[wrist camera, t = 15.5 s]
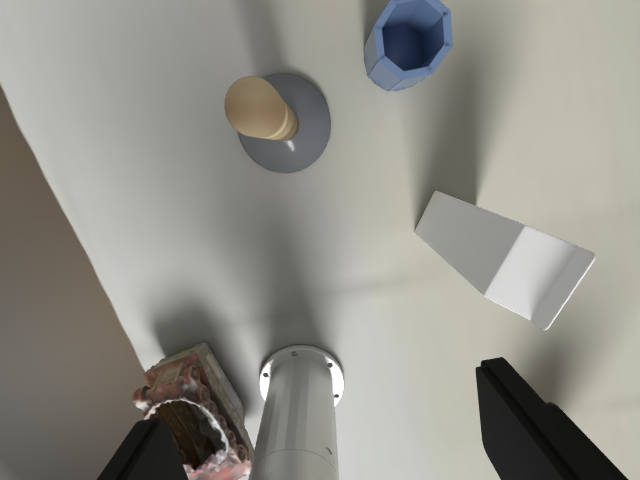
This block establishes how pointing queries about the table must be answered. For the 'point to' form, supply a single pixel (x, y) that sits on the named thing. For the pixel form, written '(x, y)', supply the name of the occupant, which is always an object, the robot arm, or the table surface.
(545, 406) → the robot arm
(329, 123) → the coaster
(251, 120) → the wooden pestle
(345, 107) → the table surface
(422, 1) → the cup
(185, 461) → the decorative box
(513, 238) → the milk
